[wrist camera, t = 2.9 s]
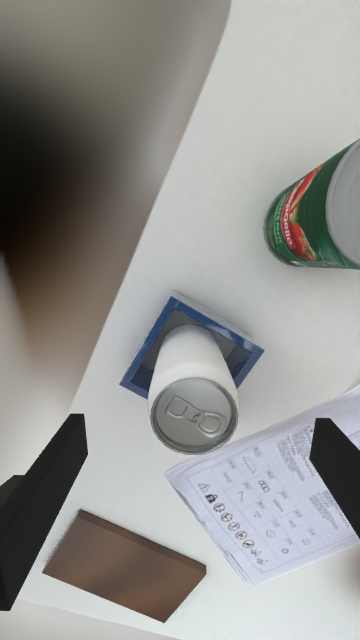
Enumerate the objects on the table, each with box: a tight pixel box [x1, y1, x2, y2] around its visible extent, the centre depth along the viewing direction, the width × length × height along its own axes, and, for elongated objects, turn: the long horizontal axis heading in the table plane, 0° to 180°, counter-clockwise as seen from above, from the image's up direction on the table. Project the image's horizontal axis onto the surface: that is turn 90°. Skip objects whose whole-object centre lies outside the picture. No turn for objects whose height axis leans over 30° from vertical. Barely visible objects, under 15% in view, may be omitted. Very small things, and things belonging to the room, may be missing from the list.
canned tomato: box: [264, 139, 360, 269], centre depth 18 cm, size 8×8×11 cm
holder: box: [119, 290, 264, 399], centre depth 25 cm, size 10×10×4 cm
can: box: [148, 324, 239, 455], centre depth 21 cm, size 6×6×12 cm
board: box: [42, 509, 206, 623], centre depth 34 cm, size 20×12×1 cm, turn 60°
